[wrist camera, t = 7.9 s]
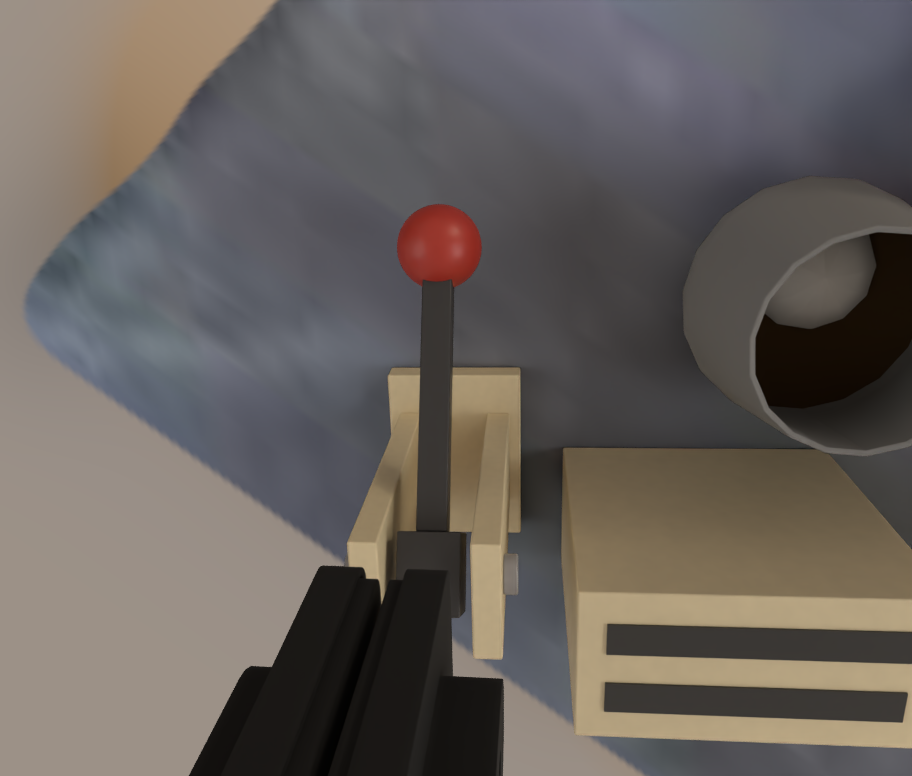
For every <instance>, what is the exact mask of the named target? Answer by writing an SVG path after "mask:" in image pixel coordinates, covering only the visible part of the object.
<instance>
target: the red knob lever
mask: <svg viewBox="0 0 912 776" xmlns="http://www.w3.org/2000/svg"><path fill="white" fill-rule="evenodd" d="M481 249H482V246H481V238H480V234H479V231H478V229H477V227H476V225H475V224H474V222H473V221H472V220H471V218H470V217H469V216H468V215H467V214H465V213H464V212H463V211H461V210H459V209H457V208H455V207H453V206H449V205H444V204H435V205H429V206H426V207H423V208H421V209H419V210H417V211H416V212H414V213H413V214H412V215H411V216H410V217H409V218H408V219H407V220H406V221H405V223H404V224H403V226H402V228H401V230H400V233H399V236H398V242H397V253H398V258H399V261H400V264H401V266H402V268H403V270H404V271H405V273H406V274H407V275H408V276H409V277H410V278H411V279H412V280H413V281H414V282H416V283H417V284H419V285H421V286H422V319H421V357H420V395H419V433H418V470H417V508H416V531H397V548H396V580H403V577H404V574H405V571H406V570H407V569H426V570H448V571H449V574H450V590H451V618H459V617H460V616H461V615H462V614H463V613H464V612H465V600H466V533H463V532H449V531H450V487H451V433H452V379H453V325H454V287H456V286H458V285H460V284H462V283H463V282H465V281H466V280H467V279H468V278H469V277H470V276H471V275H472V274H473V272H474V271H475V269H476V268H477V266H478V263H479V260H480V257H481Z"/></svg>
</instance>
